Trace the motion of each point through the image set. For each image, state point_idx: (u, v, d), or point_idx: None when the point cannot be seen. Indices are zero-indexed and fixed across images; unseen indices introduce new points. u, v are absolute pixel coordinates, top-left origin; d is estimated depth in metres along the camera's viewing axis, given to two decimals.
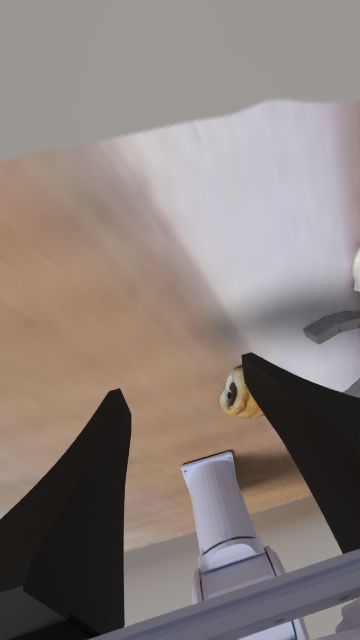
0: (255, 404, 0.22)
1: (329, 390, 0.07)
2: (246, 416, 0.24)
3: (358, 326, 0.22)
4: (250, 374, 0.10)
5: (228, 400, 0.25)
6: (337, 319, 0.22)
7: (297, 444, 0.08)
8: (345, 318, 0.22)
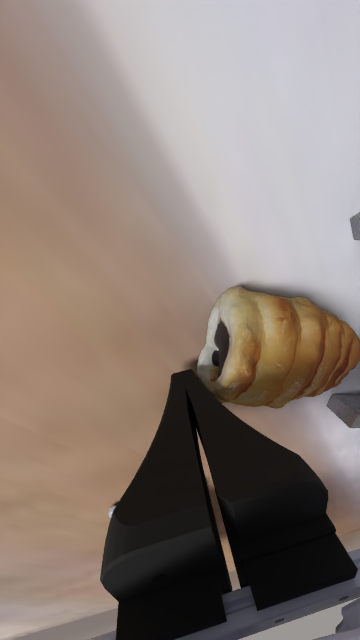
0: (278, 368, 0.09)
1: (233, 418, 0.07)
2: (257, 401, 0.10)
3: None
4: None
5: (214, 369, 0.11)
6: None
7: (210, 470, 0.08)
8: None
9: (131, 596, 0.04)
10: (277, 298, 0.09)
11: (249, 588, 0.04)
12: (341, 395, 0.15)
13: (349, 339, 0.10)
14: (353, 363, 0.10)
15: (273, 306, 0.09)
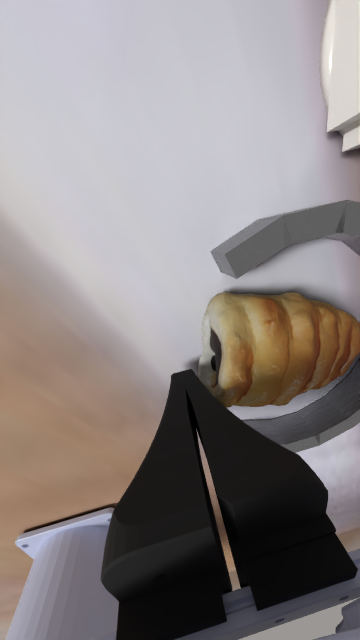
0: (274, 369, 0.09)
1: (233, 418, 0.07)
2: (260, 402, 0.10)
3: (339, 229, 0.08)
4: None
5: (214, 375, 0.11)
6: (284, 214, 0.09)
7: None
8: (305, 209, 0.08)
9: (131, 596, 0.04)
10: (263, 299, 0.09)
11: (249, 588, 0.04)
12: (249, 421, 0.15)
13: (347, 328, 0.10)
14: (356, 350, 0.10)
15: (260, 309, 0.09)
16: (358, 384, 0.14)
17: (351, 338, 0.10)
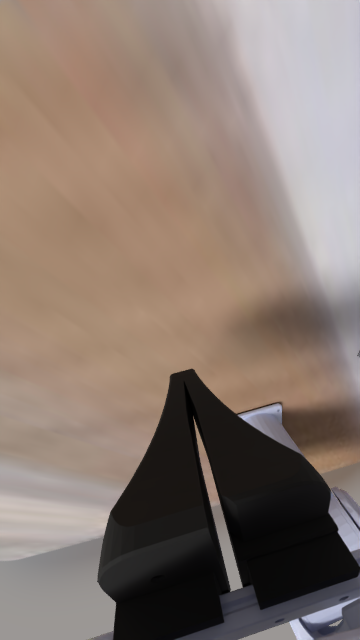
0: None
1: (235, 417, 0.07)
2: None
3: None
4: (187, 392, 0.10)
5: None
6: None
7: None
8: None
9: (128, 597, 0.04)
10: None
11: (252, 587, 0.04)
12: None
13: None
14: None
15: None
16: None
17: None
